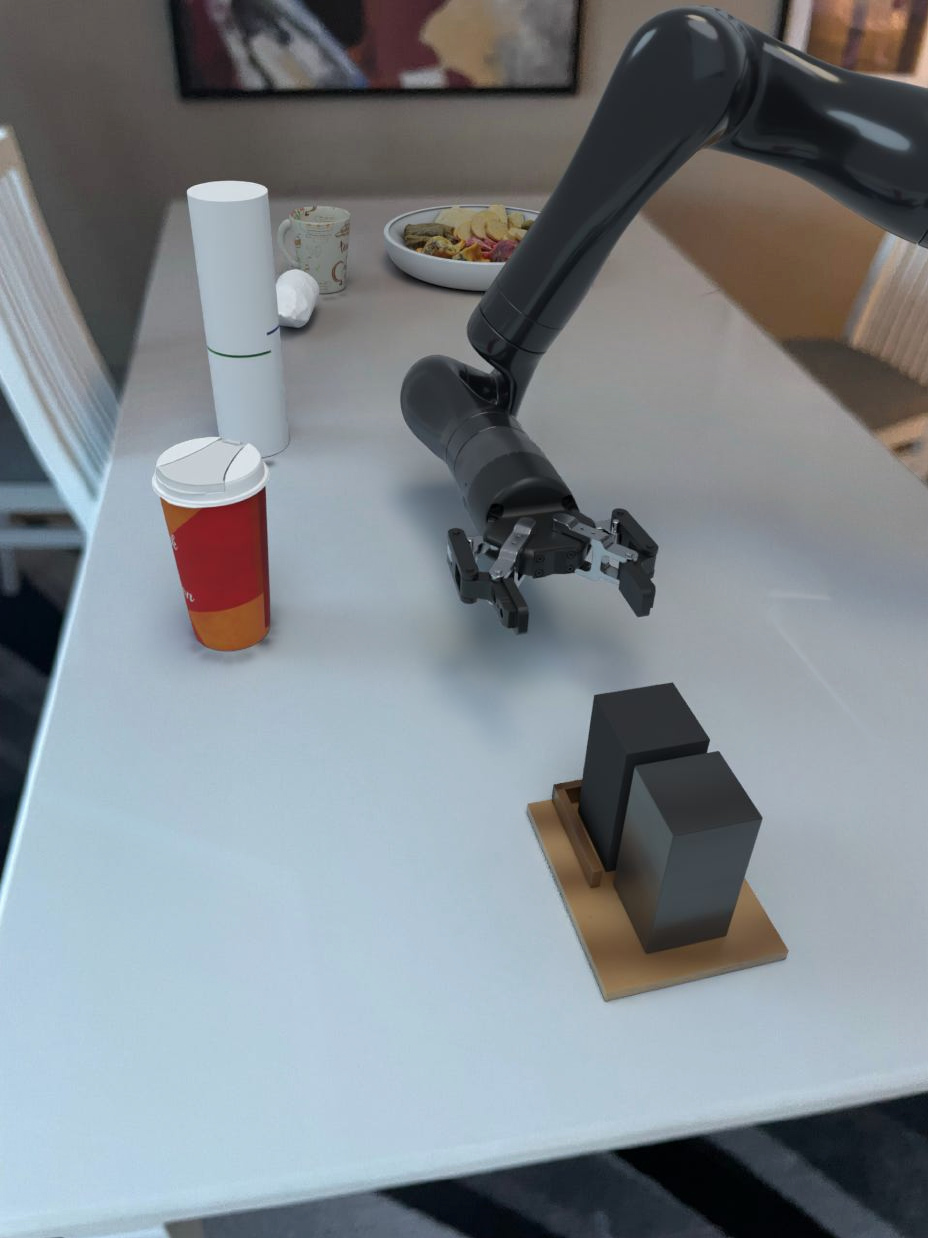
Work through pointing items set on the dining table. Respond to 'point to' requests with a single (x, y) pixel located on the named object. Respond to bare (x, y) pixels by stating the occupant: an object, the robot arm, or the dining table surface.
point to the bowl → (457, 243)
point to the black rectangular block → (630, 755)
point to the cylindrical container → (240, 311)
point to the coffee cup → (219, 537)
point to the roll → (296, 297)
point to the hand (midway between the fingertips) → (586, 614)
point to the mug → (319, 244)
